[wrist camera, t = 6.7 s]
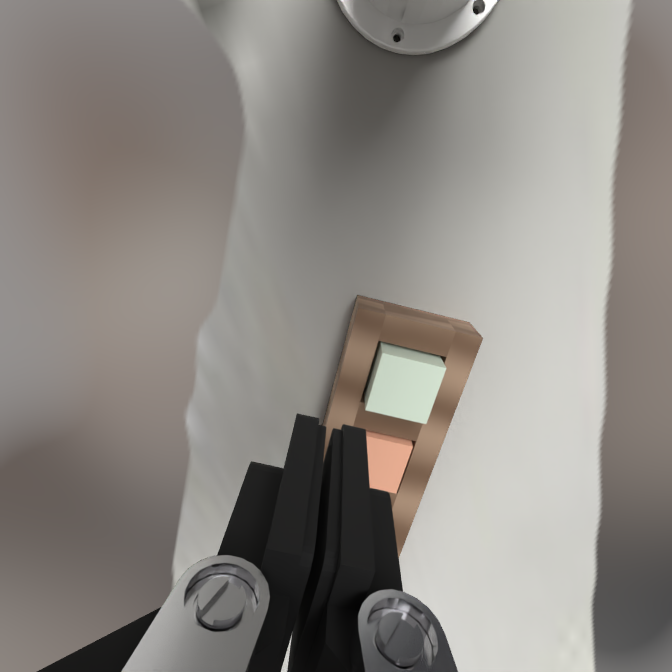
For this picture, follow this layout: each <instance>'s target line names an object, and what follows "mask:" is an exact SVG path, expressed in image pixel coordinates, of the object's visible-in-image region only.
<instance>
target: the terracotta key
mask: <svg viewBox="0 0 672 672" xmlns="http://www.w3.org/2000/svg"><path fill="white" fill-rule="evenodd" d="M366 438H367V453H368V469H369V484H370V488H374V489H378V490H383V491H387V492H391V493H395V494H396V493H397V490H398V487H399V484H400V481H401V479H402V476H403V473H404V470H405V468H406V465H407V462H408V459H409V456H410V454H411V451H412V448H413V445H412V441H411V440H409V439H404V438H400V437H396V436H391V435H387V434H382V433H378V432H374V431H369V430H366Z"/></svg>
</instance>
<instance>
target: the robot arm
mask: <svg viewBox="0 0 672 672" xmlns="http://www.w3.org/2000/svg"><path fill="white" fill-rule="evenodd" d="M498 1H499V0H337V2H338V4H339V6H340V8H341V10H342V12H343V13H344V15H345V16H346V17H347V19H348V20H349V22H350V23H351V24H352V26H353V27H354V28H355V29H356V30H357V31H358V32H359V33H361V34H362V35H363V36H364V37H365V38H366V39H367V40H369V41H371V42H372V43H374V44H376V45H377V46H379V47H381V48H383V49H386V50H389V51H392V52H395V53H398V54H408V55H420V54H428V53H433V52H436V51H439V50H442V49H445V48H448V47H450V46H452V45H453V44H455V43H457V42H458V41H460V40H462V39H464V38H465V37H466V36H467V35H469V34H470V33H471V32H472V31H473V30H474V29H476V28H477V27H478V26H479V25H480V24H481V23H482V22H483V20H484V19H485V18H486V17H487V16H488V15H489V14H490V12H491V11H492V9H493V8H494V6H495V5H496V4H497V2H498ZM473 8H477V9H478V11H479V13H478V15H476V14H474V13H473V11H472V10H473ZM395 35H398V36H399V37H400V41H399V42H395V41H394V40H393V37H394V36H395ZM318 424H319V418H315V417H310V416H306V415H301V414H297V416H296V420H295V424H294V428H293V432H292V437H291V441H290V445H289V449H288V453H287V457H286V461H285V466H284V469H283V468H279V467H274V466H270V465H265V464H261V463H256V462H252V461H251V463H250V465H249V468H248V470H247V473H246V476H245V479H244V482H243V484H242V487H241V490H240V493H239V496H238V499H237V501H236V504H235V507H234V510H233V513H232V515H231V518H230V521H229V524H228V527H227V529H226V532H225V535H224V538H223V541H222V543H221V546H220V549H219V552H218V555H217V556H212V557H209V558H206V559H203V560H200V561H199V562H197V563H196V564H194V565H193V566H191V567H190V568H188V569H187V571H186V572H185V573H184V574H183V575H182V576H181V578H180V579H179V580H178V582H177V583H176V585H175V587H174V588H173V590H172V591H171V593H170V595H169V597H168V598H167V600H166V601H165V603H164V604H163V606H162V607H160V608H159V609H157V610H155V611H153V612H151V613H149V614H147V615H145V616H143V617H141V618H139V619H137V620H136V621H134V622H132V623H130V624H128V625H126V626H124V627H122V628H120V629H118V630H116V631H114V632H112V633H110V634H108V635H107V636H105V637H103V638H101V639H99V640H97V641H95V642H93V643H91V644H89V645H87V646H86V647H83V648H82V649H80V650H78V651H76V652H74V653H72V654H70V655H68V656H66V657H64V658H63V659H60V660H59V661H56V662H55V663H53V664H51V665H49V666H47V667H45V668H43V669H41V670H39V671H37V672H281V668H282V665H283V662H284V658H285V655H286V651H287V648H288V645H289V641H290V638H291V635H292V639H291V647H290V655H289V663H288V671H287V672H458V670H457V667H456V664H455V661H454V658H453V655H452V653H451V650H450V647H449V644H448V641H447V638H446V635H445V633H444V631H443V629H442V627H441V625H440V622H439V620H438V619H437V618H436V616H435V615H434V614H433V613H432V611H431V610H430V609H429V608H428V607H427V606H426V605H425V604H423V603H422V602H421V601H420V600H418V599H417V598H415V597H413V596H411V595H409V594H407V593H405V592H403V589H402V581H401V574H400V566H399V558H398V550H397V543H396V535H395V527H394V520H393V512H392V504H391V498H390V494H389V492H387V491H383V490H378V489H374V488H370V484H369V469H368V453H367V438H366V429H363V428H358V427H354V426H350V425H345V424H343V425H342V428H341V430H340V429H335V428H333V430H332V433H331V436H330V440H329V444H328V447H327V451H326V454H325V458H324V449H325V439H326V426H322V425H318ZM323 459H324V462H323ZM292 631H293V632H292Z"/></svg>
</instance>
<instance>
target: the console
mask: <svg viewBox="0 0 672 672" xmlns="http://www.w3.org/2000/svg"><path fill="white" fill-rule="evenodd" d="M482 340H483V338H482V336H481V335H480V334H479V333H478V332H477V331H476V329H475V328H474V327H473V326H472V325H471V324H470V323H469V322H465V321H461V320H457V319H453V318H449V317H445V316H441V315H437V314H433V313H429V312H425V311H421V310H417V309H412V308H408V307H404V306H400V305H396V304H392V303H388V302H384V301H380V300H376V299H372V298H368V297H363V296H359V295H357V298H356V302H355V306H354V309H353V313H352V317H351V321H350V324H349V328H348V332H347V336H346V339H345V343H344V347H343V351H342V354H341V358H340V362H339V366H338V369H337V373H336V377H335V380H334V384H333V388H332V392H331V395H330V399H329V403H328V407H327V410H326V414H325V418H324V422H323V425H322V426H326V439H325V449H324V458H325V454H326V451H327V447H328V444H329V440H330V436H331V433H332V430H333V428H335V429H340V430H341V428H342V425H343V424H345V425H350V426H354V427H358V428H363V429H366V430H369V431H374V432H378V433H382V434H387V435H391V436H396V437H400V438H404V439H409V440H411V441H412V445H413V448H412V451H411V454H410V456H409V459H408V462H407V465H406V468H405V470H404V473H403V476H402V479H401V481H400V484H399V487H398V490H397V493H396V494H395V493H391V492H389V494H390V498H391V504H392V512H393V520H394V527H395V535H396V543H397V550H398V558H399V556H400V553H401V551H402V548H403V545H404V543H405V540H406V538H407V535H408V532H409V530H410V527H411V525H412V522H413V519H414V517H415V514H416V512H417V509H418V506H419V504H420V501H421V499H422V496H423V493H424V491H425V488H426V486H427V483H428V480H429V478H430V475H431V472H432V470H433V467H434V465H435V462H436V459H437V457H438V454H439V452H440V449H441V446H442V444H443V441H444V439H445V436H446V433H447V431H448V428H449V426H450V423H451V420H452V418H453V415H454V413H455V410H456V407H457V405H458V402H459V400H460V397H461V394H462V392H463V389H464V387H465V384H466V381H467V379H468V376H469V373H470V371H471V368H472V366H473V363H474V360H475V358H476V355H477V353H478V350H479V347H480V345H481V342H482ZM379 341H382V342H386V343H390V344H394V345H399V346H403V347H407V348H411V349H415V350H419V351H424V352H428V353H432V354H436V355H440V357H441V359H442V361H443V363H444V365H445V366H446V371H445V374H444V377H443V379H442V382H441V385H440V388H439V390H438V393H437V396H436V399H435V401H434V404H433V407H432V410H431V412H430V415H429V418H428V421H427V423H426V424H423V423H419V422H414V421H410V420H406V419H401V418H397V417H393V416H388V415H384V414H380V413H375V412H371V411H367V410H365V399H364V390H365V387H366V383H367V380H368V376H369V373H370V370H371V366H372V363H373V360H374V356H375V353H376V349H377V346H378V343H379ZM323 462H324V459H323Z"/></svg>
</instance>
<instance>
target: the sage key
mask: <svg viewBox="0 0 672 672" xmlns="http://www.w3.org/2000/svg"><path fill="white" fill-rule="evenodd" d="M445 371H446V366H445V365H444V363H443V361H442V359H441V357H440V355H436V354H432V353H428V352H424V351H419V350H415V349H411V348H407V347H403V346H399V345H394V344H390V343H386V342H382V341H379V343H378V346H377V349H376V353H375V356H374V360H373V363H372V366H371V370H370V373H369V376H368V380H367V383H366V387H365V390H364V399H365V410H367V411H371V412H375V413H380V414H384V415H388V416H393V417H397V418H401V419H406V420H410V421H414V422H419V423H423V424H426V423H427V421H428V418H429V415H430V412H431V410H432V407H433V404H434V401H435V399H436V396H437V393H438V390H439V388H440V385H441V382H442V379H443V377H444V374H445Z"/></svg>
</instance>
